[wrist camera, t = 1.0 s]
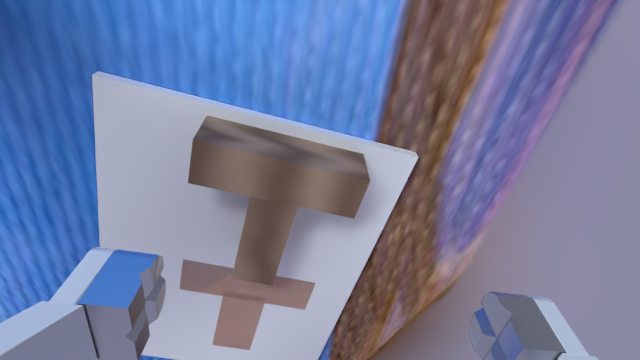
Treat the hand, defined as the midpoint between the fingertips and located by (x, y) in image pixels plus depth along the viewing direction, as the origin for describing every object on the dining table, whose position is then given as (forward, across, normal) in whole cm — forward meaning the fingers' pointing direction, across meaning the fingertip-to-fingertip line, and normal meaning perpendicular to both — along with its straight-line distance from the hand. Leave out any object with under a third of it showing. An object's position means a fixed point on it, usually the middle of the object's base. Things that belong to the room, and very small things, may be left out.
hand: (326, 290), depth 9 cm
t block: (+23, +3, +13) cm, 27 cm away
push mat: (+24, +6, +24) cm, 35 cm away
